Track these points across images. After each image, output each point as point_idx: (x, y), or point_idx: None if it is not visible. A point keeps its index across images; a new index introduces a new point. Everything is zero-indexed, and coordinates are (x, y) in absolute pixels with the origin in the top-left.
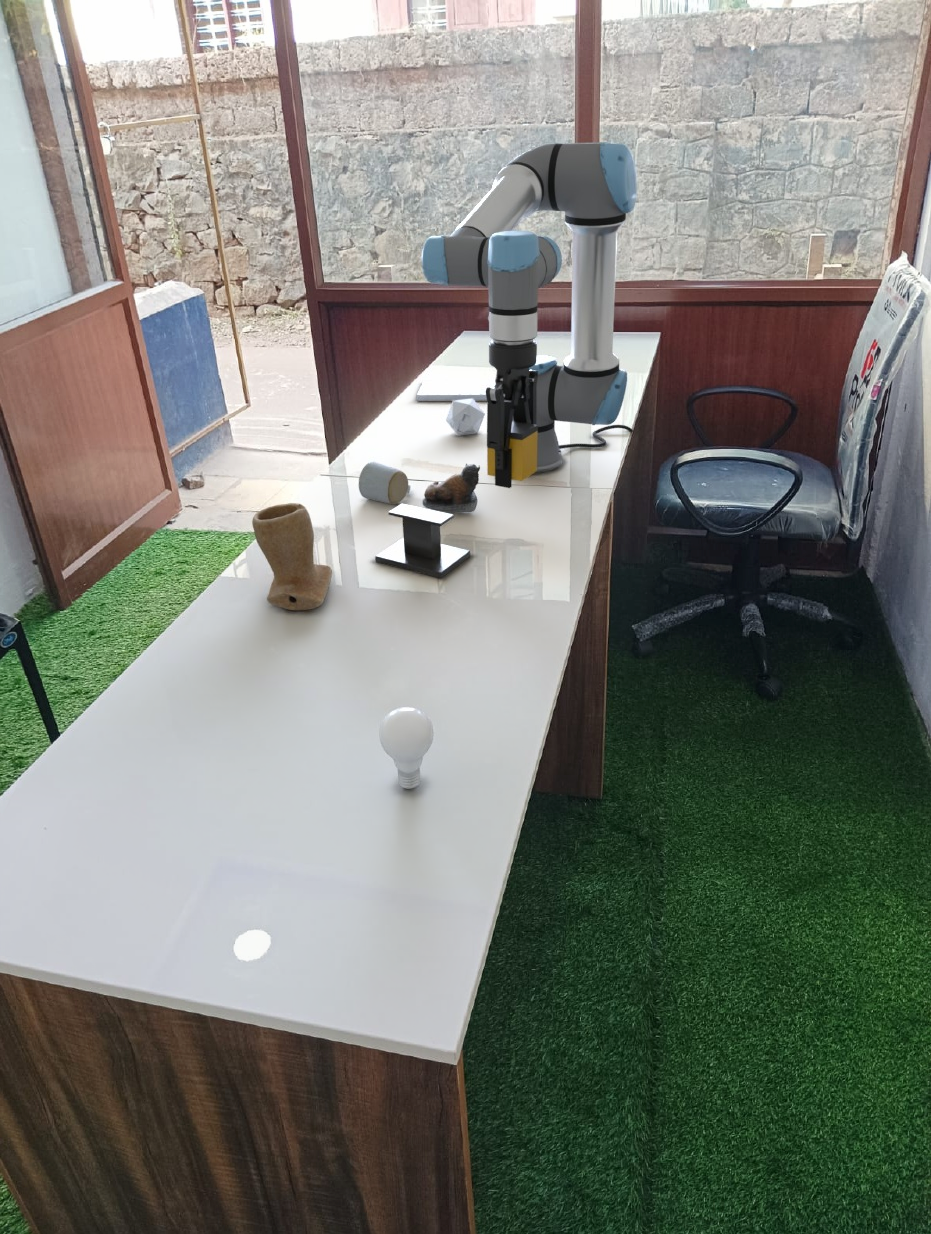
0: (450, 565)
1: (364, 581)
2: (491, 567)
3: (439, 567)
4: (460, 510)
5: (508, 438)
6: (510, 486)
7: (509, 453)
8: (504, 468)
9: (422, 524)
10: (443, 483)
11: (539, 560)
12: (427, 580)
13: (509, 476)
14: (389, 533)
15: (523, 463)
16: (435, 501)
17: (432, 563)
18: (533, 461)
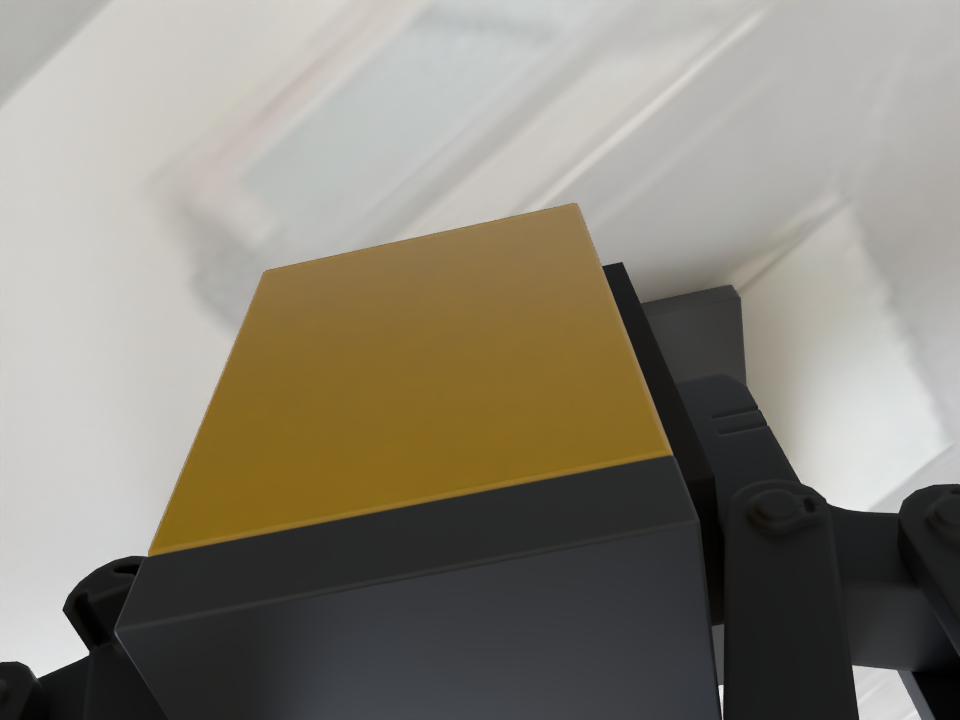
0: (660, 314)
1: (899, 464)
2: (512, 200)
3: (704, 333)
4: None
5: (780, 599)
6: (604, 269)
7: (703, 450)
8: (699, 381)
9: None
10: None
11: (295, 74)
12: (773, 313)
13: (643, 311)
14: None
15: (570, 282)
16: None
17: (691, 376)
18: (324, 309)
